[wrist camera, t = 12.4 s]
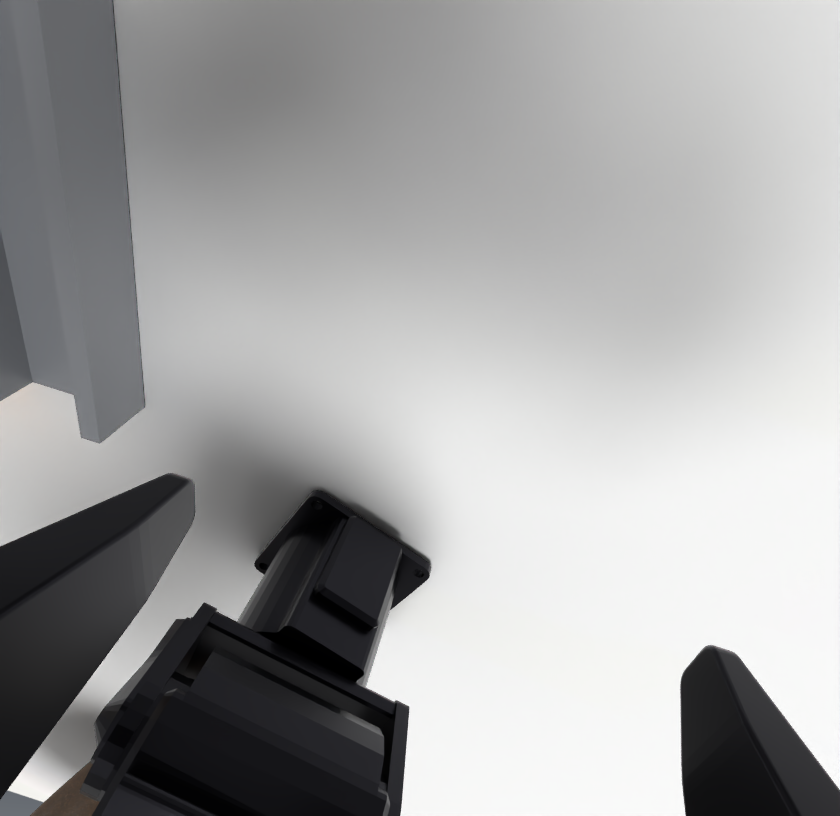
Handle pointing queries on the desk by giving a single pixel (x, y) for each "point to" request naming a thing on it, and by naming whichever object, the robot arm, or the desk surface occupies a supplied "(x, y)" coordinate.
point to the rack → (66, 213)
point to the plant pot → (69, 799)
